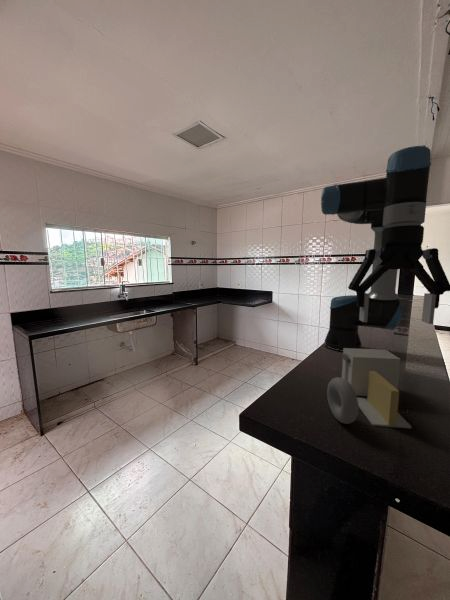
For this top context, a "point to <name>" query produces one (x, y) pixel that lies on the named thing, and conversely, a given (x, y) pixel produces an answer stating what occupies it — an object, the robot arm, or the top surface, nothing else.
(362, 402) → the mat
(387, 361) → the large beige block
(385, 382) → the yellow rectangular slab
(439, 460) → the top surface
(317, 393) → the top surface
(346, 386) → the donut
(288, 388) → the top surface
